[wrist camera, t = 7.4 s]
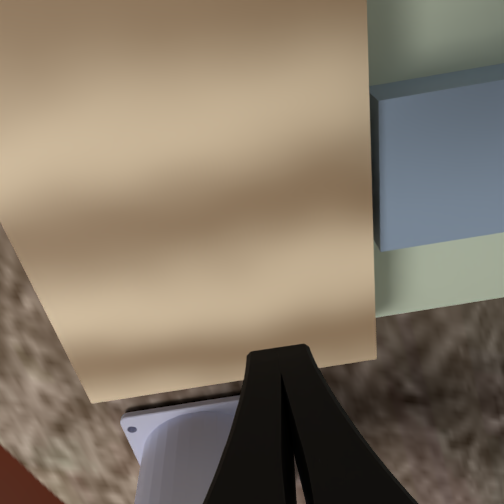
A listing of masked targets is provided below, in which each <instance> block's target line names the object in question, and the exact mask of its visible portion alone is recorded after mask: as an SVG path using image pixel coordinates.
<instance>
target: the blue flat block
mask: <svg viewBox="0 0 504 504" xmlns="http://www.w3.org/2000/svg"><path fill="white" fill-rule="evenodd" d="M369 101H370V137H371V173H372V209H373V239H374V241H375V243H376V245H377V247H378V248H379V250H380V252H384V251H390V250H396V249H402V248H409V247H415V246H421V245H427V244H434V243H440V242H446V241H452V240H459V239H465V238H471V237H477V236H484V235H490V234H496V233H502V232H504V63H502V64H496V65H490V66H484V67H479V68H473V69H467V70H461V71H455V72H449V73H444V74H438V75H432V76H426V77H420V78H415V79H409V80H403V81H397V82H391V83H385V84H380V85H374V86H369Z"/></svg>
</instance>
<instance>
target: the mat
mask: <svg viewBox="0 0 504 504" xmlns="http://www.w3.org/2000/svg"><path fill="white" fill-rule="evenodd" d="M367 30H368V65H369V86H374V85H380V84H385V83H391V82H397V81H403V80H409V79H415V78H420V77H426V76H432V75H438V74H444V73H449V72H455V71H461V70H467V69H473V68H479V67H484V66H490V65H496V64H502V63H504V0H367ZM373 244H374V280H375V316H376V317H382V316H389V315H395V314H401V313H407V312H414V311H420V310H426V309H433V308H439V307H445V306H451V305H458V304H464V303H470V302H476V301H483V300H489V299H495V298H502V297H504V232H502V233H496V234H490V235H484V236H477V237H471V238H465V239H459V240H452V241H446V242H440V243H434V244H427V245H421V246H415V247H409V248H402V249H396V250H390V251H384V252H380V250H379V248H378V247H377V245H376V243H375V241H374V239H373Z"/></svg>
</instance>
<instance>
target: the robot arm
mask: <svg viewBox="0 0 504 504" xmlns="http://www.w3.org/2000/svg"><path fill="white" fill-rule="evenodd" d="M120 423H121V426H122V428H123V430H124V432H125V435H126V437H127V439H128V441H129V443H130V445H131V447H132V449H133V452H134V454H135V456H136V458H137V460H138V462H139V464H140V472H139V478H138V484H137V491H136V497H135V503H134V504H297V501H296V484H295V468H294V455H295V460H296V464H297V468H298V472H299V476H300V480H301V484H302V488H303V492H304V497H305V501H306V504H418V503H417V502H416V500H415V499H414V498H413V497H412V496H411V495H410V494H409V493H408V492H407V490H406V489H405V488H404V487H403V486H402V485H401V484H400V482H399V481H398V480H397V479H396V478H395V477H394V476H393V474H392V473H391V472H390V471H389V470H388V468H387V467H386V466H385V465H384V463H383V462H382V461H381V460H380V458H379V457H378V456H377V455H376V453H375V452H374V451H373V450H372V448H371V447H370V446H369V444H368V443H367V442H366V440H365V439H364V438H363V436H362V435H361V434H360V432H359V431H358V430H357V428H356V427H355V425H354V424H353V423H352V421H351V420H350V418H349V417H348V415H347V414H346V412H345V411H344V409H343V408H342V406H341V405H340V403H339V402H338V400H337V399H336V397H335V396H334V394H333V392H332V391H331V389H330V387H329V386H328V384H327V382H326V381H325V379H324V377H323V375H322V373H321V372H320V370H319V368H318V366H317V364H316V362H315V360H314V357H313V355H312V353H311V350H310V347H309V346H307V345H306V344H304V343H303V344H297V345H290V346H283V347H277V348H270V349H263V350H257V351H251V352H250V353H249V354H248V355H247V357H246V368H245V375H244V380H243V385H242V389H241V394H240V395H237V396H231V397H224V398H218V399H212V400H205V401H199V402H192V403H186V404H179V405H173V406H166V407H160V408H154V409H147V410H141V411H134V412H128V413H125V414H123V415H122V417H121V421H120ZM293 451H294V452H293Z"/></svg>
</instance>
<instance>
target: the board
mask: <svg viewBox="0 0 504 504" xmlns="http://www.w3.org/2000/svg"><path fill="white" fill-rule="evenodd" d="M0 222H1V224H2V226H3V228H4V230H5V232H6V234H7V236H8V238H9V240H10V242H11V244H12V246H13V248H14V250H15V252H16V254H17V256H18V258H19V260H20V262H21V264H22V266H23V268H24V270H25V272H26V274H27V276H28V278H29V280H30V282H31V284H32V286H33V288H34V290H35V292H36V294H37V296H38V298H39V300H40V302H41V304H42V306H43V308H44V310H45V312H46V314H47V316H48V318H49V320H50V322H51V324H52V326H53V328H54V330H55V332H56V334H57V336H58V338H59V340H60V342H61V344H62V346H63V348H64V350H65V352H66V354H67V356H68V358H69V360H70V362H71V364H72V366H73V368H74V370H75V372H76V374H77V375H78V377H79V379H80V381H81V383H82V385H83V387H84V389H85V391H86V393H87V395H88V397H89V399H90V401H91V403H99V402H105V401H111V400H118V399H124V398H131V397H137V396H143V395H150V394H156V393H163V392H169V391H175V390H182V389H188V388H195V387H201V386H207V385H214V384H220V383H227V382H233V381H239V380H244V375H245V368H246V357H247V355H248V354H249V353H250V352H251V351H257V350H263V349H270V348H277V347H283V346H290V345H297V344H303V343H304V344H306V345H307V346H309V347H310V350H311V353H312V355H313V357H314V360H315V362H316V364H317V366H318V368H323V367H329V366H335V365H342V364H348V363H355V362H361V361H367V360H374V359H377V352H376V316H375V280H374V244H373V209H372V173H371V137H370V101H369V65H368V30H367V0H0Z"/></svg>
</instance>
